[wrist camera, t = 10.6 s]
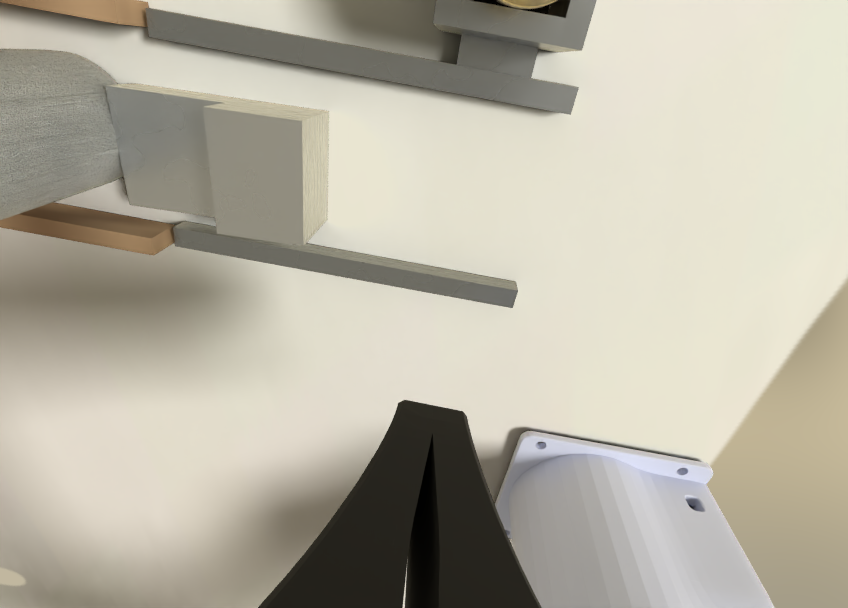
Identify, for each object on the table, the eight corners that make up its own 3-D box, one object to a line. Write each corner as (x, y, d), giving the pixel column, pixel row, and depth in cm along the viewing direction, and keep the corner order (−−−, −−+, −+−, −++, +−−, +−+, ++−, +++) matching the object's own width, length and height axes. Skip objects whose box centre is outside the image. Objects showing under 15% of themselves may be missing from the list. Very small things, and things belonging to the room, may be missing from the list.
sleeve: (573, 86, 15) (578, 87, 14) (511, 298, 19) (512, 307, 18) (160, 10, 15) (145, 7, 14) (186, 239, 19) (175, 246, 18)
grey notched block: (329, 110, 16) (302, 121, 13) (327, 218, 18) (303, 246, 15) (137, 83, 16) (71, 87, 13) (156, 193, 18) (102, 216, 15)
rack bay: (147, 2, 15) (113, -4, 13) (177, 240, 19) (153, 255, 17) (-72, -38, 15) (-130, -49, 13) (6, 209, 19) (-32, 221, 17)
